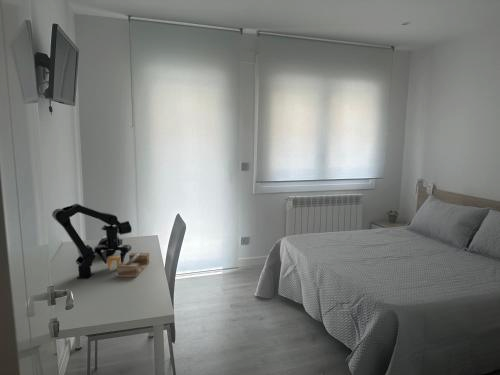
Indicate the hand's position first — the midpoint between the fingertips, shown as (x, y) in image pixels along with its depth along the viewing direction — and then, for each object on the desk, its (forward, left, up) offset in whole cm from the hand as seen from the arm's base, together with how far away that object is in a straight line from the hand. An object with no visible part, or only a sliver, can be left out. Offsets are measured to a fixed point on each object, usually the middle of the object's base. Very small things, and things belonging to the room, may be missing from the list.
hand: (114, 263), depth 195 cm
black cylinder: (+31, +19, -3) cm, 36 cm away
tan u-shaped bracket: (0, 0, -3) cm, 3 cm away
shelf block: (-2, -12, -3) cm, 13 cm away
